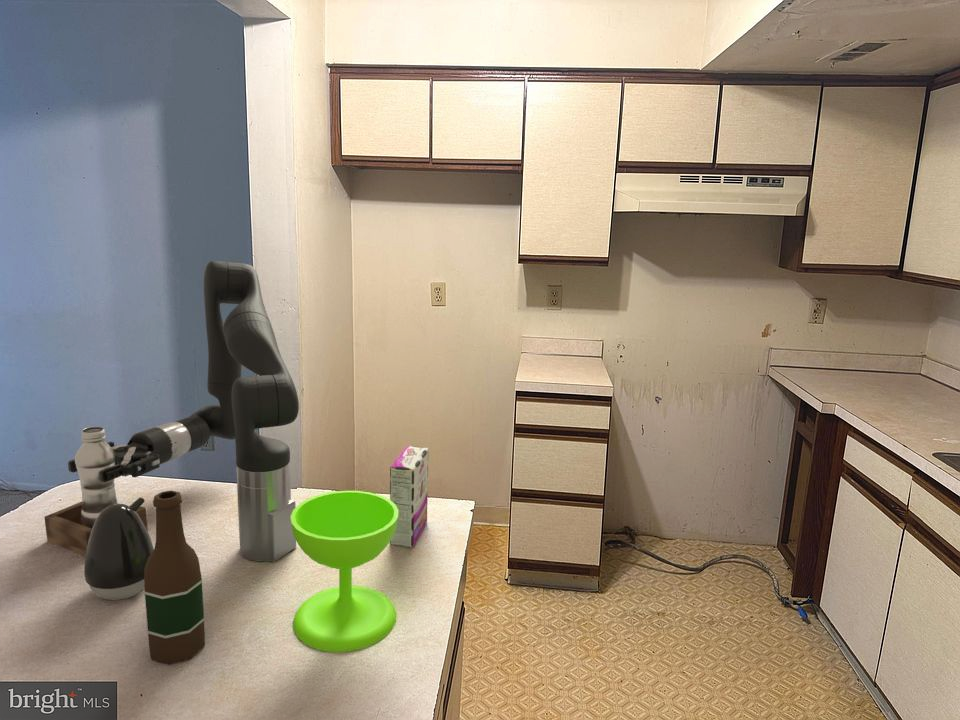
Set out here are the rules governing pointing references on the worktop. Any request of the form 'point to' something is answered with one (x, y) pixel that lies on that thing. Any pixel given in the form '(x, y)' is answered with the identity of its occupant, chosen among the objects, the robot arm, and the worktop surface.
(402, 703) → the worktop surface
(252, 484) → the robot arm
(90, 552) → the black egg-shaped dispenser
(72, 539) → the u rest
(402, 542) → the candy bar box
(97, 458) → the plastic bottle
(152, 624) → the beer bottle
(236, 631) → the worktop surface
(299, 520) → the wineglass
